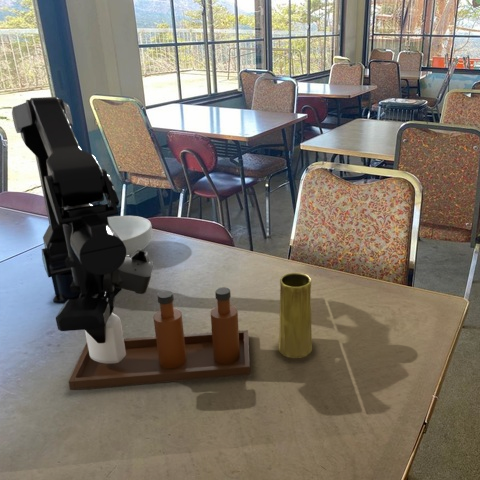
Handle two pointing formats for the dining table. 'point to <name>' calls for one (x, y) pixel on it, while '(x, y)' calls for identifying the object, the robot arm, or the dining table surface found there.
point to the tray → (147, 363)
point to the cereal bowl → (132, 232)
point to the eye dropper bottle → (108, 343)
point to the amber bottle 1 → (169, 332)
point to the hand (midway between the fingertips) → (105, 335)
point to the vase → (295, 315)
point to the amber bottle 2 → (225, 328)
